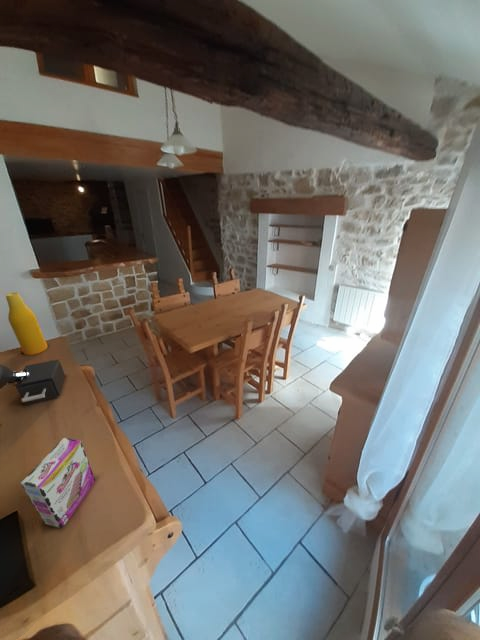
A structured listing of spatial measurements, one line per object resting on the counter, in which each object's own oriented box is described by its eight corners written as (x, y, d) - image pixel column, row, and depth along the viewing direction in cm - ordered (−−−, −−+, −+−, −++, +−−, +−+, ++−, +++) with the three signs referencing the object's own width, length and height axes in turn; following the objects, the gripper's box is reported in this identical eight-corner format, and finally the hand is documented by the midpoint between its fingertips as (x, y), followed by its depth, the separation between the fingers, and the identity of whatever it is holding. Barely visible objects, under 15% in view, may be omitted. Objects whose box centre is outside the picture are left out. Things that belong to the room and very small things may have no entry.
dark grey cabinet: (60, 397, 93) (52, 377, 88) (25, 406, 89) (14, 385, 85) (66, 378, 102) (58, 359, 98) (34, 385, 98) (25, 365, 94)
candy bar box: (64, 531, 57) (39, 489, 49) (45, 526, 57) (17, 484, 50) (98, 481, 66) (81, 439, 59) (81, 477, 67) (62, 436, 60)
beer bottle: (36, 358, 114) (10, 299, 101) (19, 355, 116) (-9, 297, 102) (53, 347, 122) (31, 291, 109) (36, 345, 124) (13, 289, 110)
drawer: (54, 406, 88) (47, 389, 84) (21, 414, 84) (12, 397, 81) (62, 380, 100) (56, 364, 96) (34, 386, 96) (26, 370, 93)
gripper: (15, 354, 65) (43, 365, 81) (-53, 366, 61) (-9, 375, 76) (16, 383, 63) (44, 388, 79) (-54, 397, 59) (-9, 400, 74)
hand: (18, 382), depth 77 cm, fingers closed
